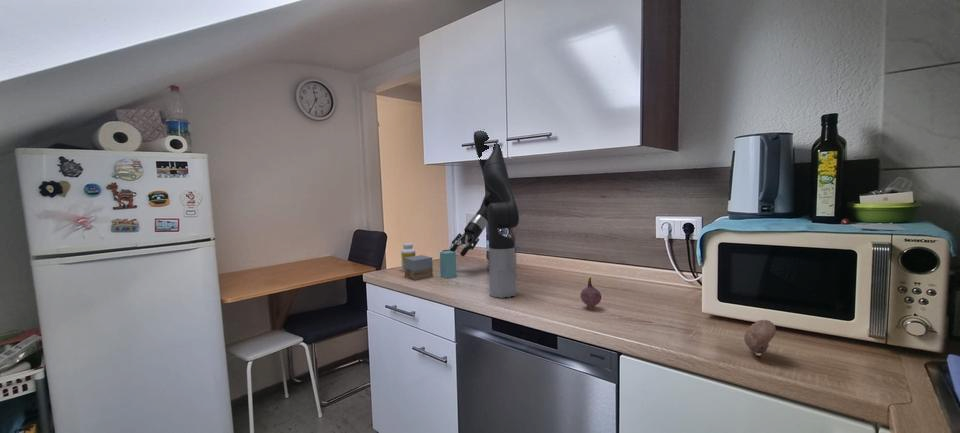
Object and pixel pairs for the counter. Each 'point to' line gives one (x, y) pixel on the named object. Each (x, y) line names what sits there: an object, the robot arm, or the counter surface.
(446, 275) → the teal block
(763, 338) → the mushroom
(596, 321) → the counter surface
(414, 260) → the top slab
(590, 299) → the vegetable
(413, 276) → the bottom slab
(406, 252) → the supplement bottle
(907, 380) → the counter surface
